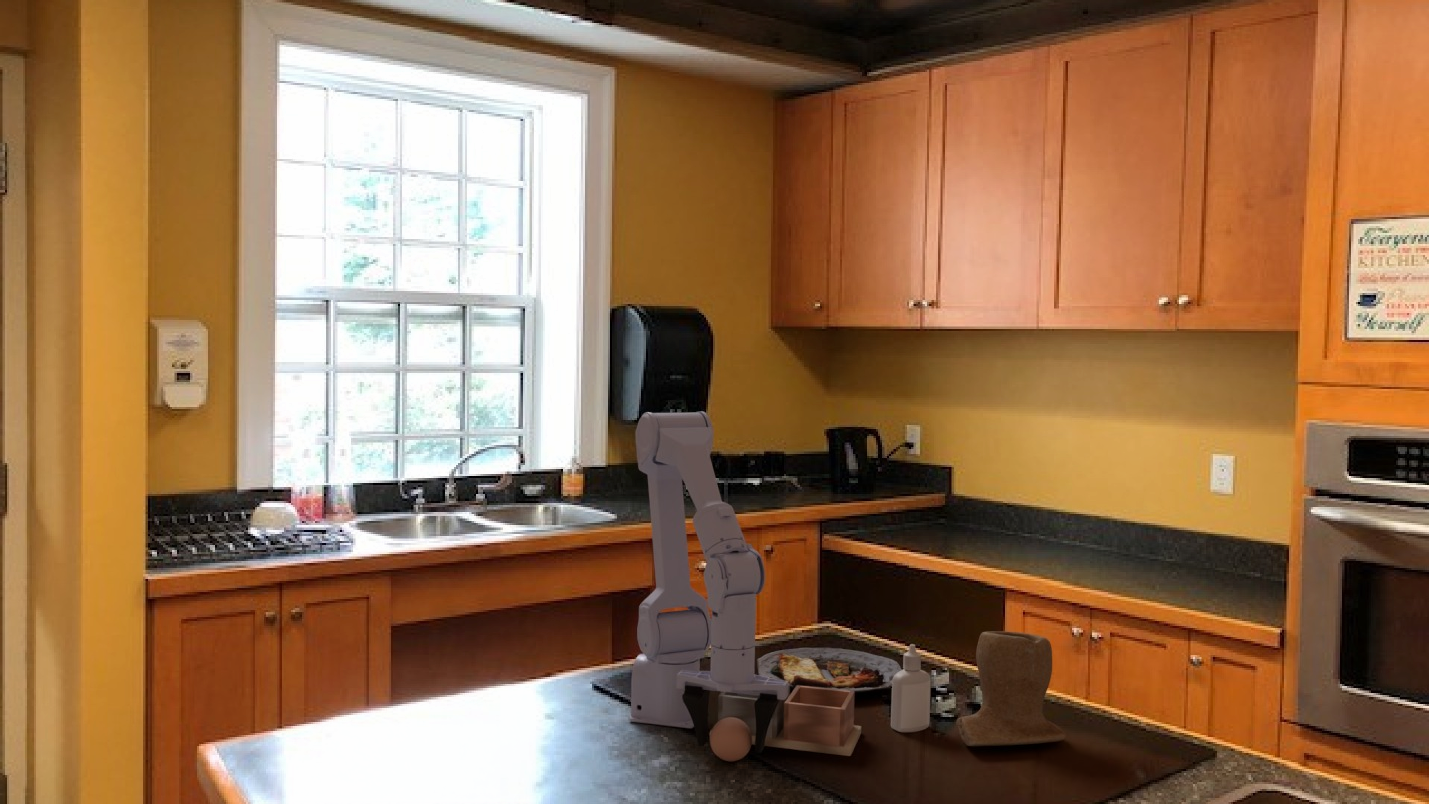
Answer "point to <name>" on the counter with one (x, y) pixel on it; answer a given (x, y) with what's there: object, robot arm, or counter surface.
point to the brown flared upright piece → (1011, 692)
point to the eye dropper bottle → (910, 695)
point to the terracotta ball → (730, 739)
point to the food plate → (829, 669)
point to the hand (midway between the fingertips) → (730, 747)
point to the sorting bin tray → (801, 719)
